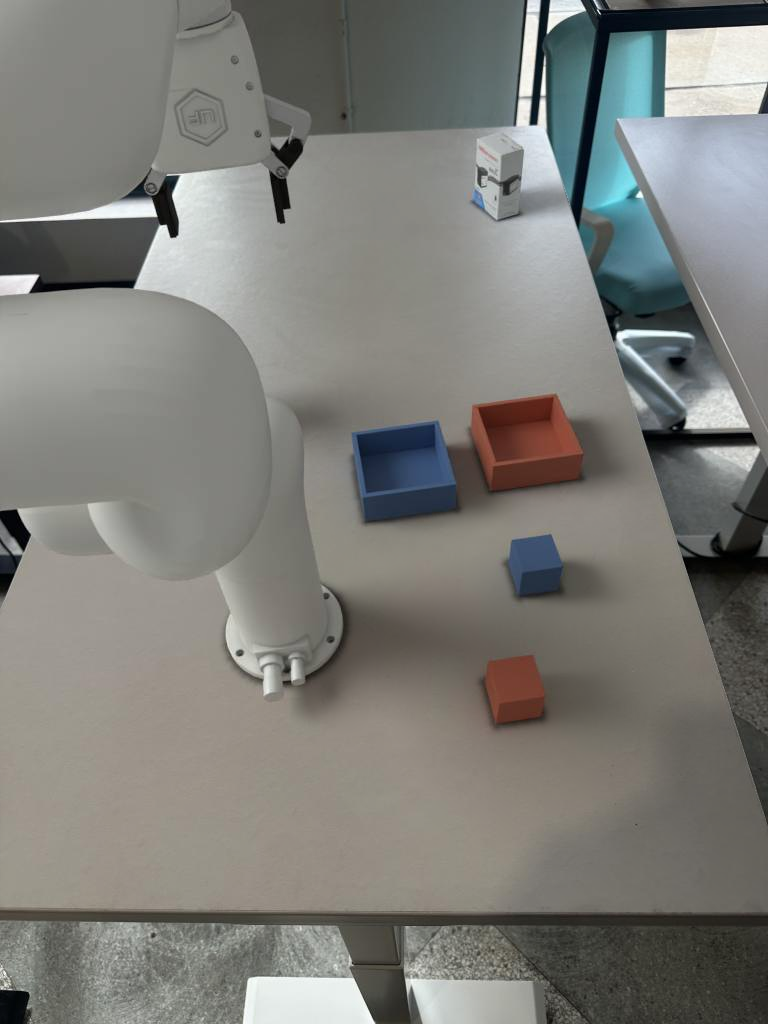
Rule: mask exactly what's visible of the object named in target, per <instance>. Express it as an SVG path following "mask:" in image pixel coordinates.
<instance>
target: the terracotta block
mask: <svg viewBox="0 0 768 1024" xmlns="http://www.w3.org/2000/svg"><path fill="white" fill-rule="evenodd" d="M485 673H486V674H485V681H484V682H485V683H484V684H485V687H486V691H487V695H488V700H489V703H490V707H491V711H492V715H493V718H494V722H495V724H496V725H497V724H498V725H499V724H505V723H511V722H517V721H522V720H529V719H534V718H541V717H542V713H543V708H544V706H545V701H546V697H547V695H546V690H545V688H544V685H543V682H542V679H541V676H540V675H541V674H540V673H539V668H538V666H537V662H536V659H535V656H534V654H526V655H518V656H511V657H507V658H506V657H505V658H499V659H494V660H493V659H492V660H488V661H487V664H486V672H485Z"/></svg>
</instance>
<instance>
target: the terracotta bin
mask: <svg viewBox="0 0 768 1024" xmlns="http://www.w3.org/2000/svg"><path fill="white" fill-rule="evenodd" d="M470 432H471V435H472V438H473V442H474V444H475V447H476V451H477V453H478V457H479V460H480V463H481V466H482V469H483V472H484V475H485V478H486V482H487V486H488V487H489V491H490V492H495V491H502V490H503V491H504V490H509V489H516V488H524V487H531V486H537V485H544V484H551V483H559V482H565V481H572V480H573V481H574V480H579V478H580V472H581V468H582V464H583V459H584V454H585V453H584V451H583V449H582V446H581V444H580V442H579V440H578V438H577V436H576V435H577V434H575V431H574V429H573V427H572V425H571V422H570V420H569V418H568V416H567V413H566V411H565V409H564V407H563V405H562V403H561V400H560V398H559V396H558V394H557V393H551V394H543V395H535V396H528V397H520V398H514V399H507V400H497V401H492V402H484V403H475V404H472V405H471V421H470Z"/></svg>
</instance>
